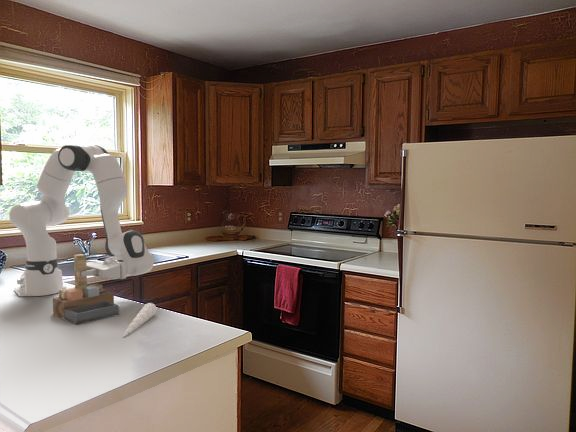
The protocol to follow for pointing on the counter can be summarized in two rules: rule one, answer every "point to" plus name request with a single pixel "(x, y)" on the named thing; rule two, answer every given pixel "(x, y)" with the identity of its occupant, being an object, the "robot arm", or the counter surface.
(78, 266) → the wooden inverted t block
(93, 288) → the pale blue-grey cube
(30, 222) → the robot arm
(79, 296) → the salmon orange block
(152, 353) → the counter surface
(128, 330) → the unicorn horn
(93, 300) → the wide wooden plinth
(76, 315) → the bin
